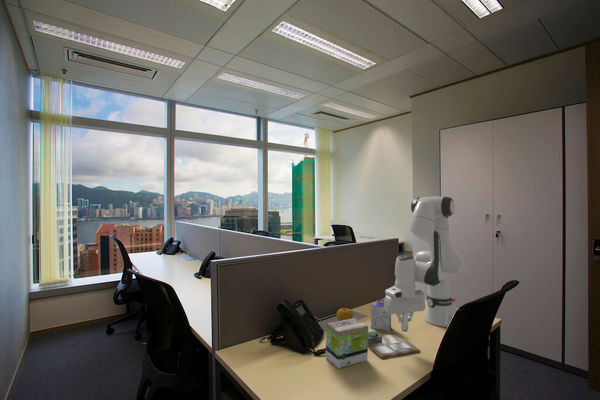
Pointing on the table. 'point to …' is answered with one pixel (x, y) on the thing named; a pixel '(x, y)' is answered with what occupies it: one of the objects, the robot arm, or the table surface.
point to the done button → (371, 332)
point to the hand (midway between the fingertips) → (404, 321)
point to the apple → (344, 314)
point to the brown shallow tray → (390, 345)
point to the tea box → (346, 342)
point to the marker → (404, 322)
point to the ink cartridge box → (380, 317)
